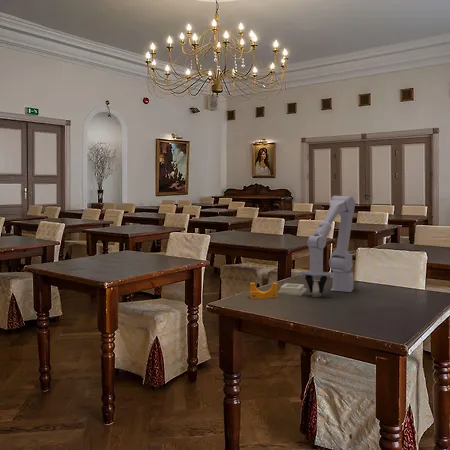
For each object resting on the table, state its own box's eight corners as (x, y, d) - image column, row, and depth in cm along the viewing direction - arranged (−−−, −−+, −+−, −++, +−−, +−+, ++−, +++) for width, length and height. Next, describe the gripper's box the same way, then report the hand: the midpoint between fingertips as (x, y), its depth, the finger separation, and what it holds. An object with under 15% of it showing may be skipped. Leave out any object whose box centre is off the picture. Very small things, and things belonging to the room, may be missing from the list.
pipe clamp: (250, 299, 216) (250, 284, 216) (250, 296, 221) (250, 282, 220) (277, 298, 216) (277, 284, 215) (277, 296, 220) (277, 282, 220)
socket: (306, 290, 230) (306, 284, 230) (301, 295, 220) (301, 289, 220) (284, 288, 235) (284, 282, 234) (277, 293, 224) (277, 287, 224)
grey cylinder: (321, 295, 220) (321, 280, 220) (319, 297, 217) (320, 281, 216) (312, 294, 222) (312, 279, 221) (310, 296, 218) (310, 281, 217)
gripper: (298, 263, 217) (298, 293, 218) (331, 264, 211) (331, 295, 213) (301, 260, 223) (302, 289, 225) (334, 262, 218) (334, 292, 219)
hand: (316, 292), depth 219 cm, fingers closed on grey cylinder, 4 cm apart
